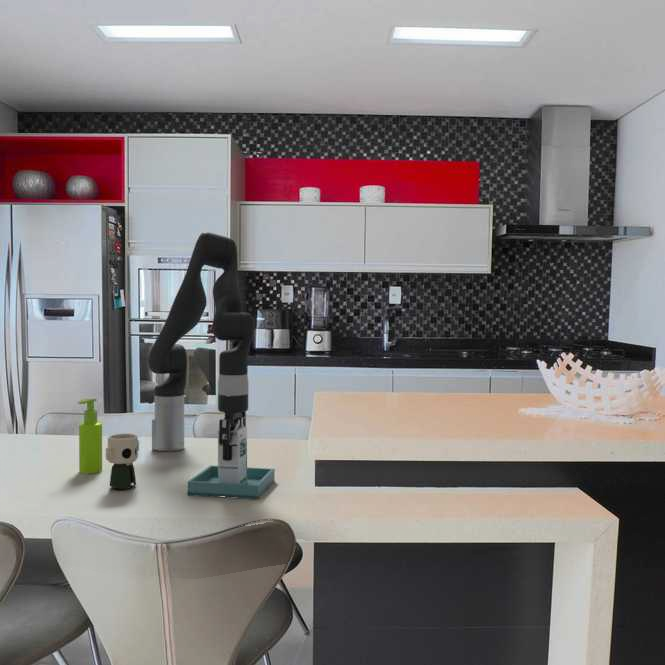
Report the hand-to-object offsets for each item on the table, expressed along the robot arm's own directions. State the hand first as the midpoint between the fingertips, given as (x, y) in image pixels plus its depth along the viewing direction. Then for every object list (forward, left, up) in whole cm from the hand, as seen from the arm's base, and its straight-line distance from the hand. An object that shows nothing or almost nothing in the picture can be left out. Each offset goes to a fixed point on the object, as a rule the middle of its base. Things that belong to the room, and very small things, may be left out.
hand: (232, 456), depth 157 cm
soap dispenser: (-43, +7, -8) cm, 44 cm away
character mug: (-27, -5, -8) cm, 29 cm away
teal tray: (0, 0, -8) cm, 8 cm away
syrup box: (0, 0, -8) cm, 8 cm away
